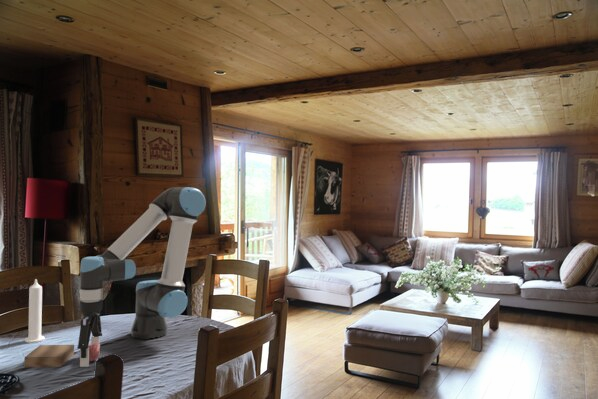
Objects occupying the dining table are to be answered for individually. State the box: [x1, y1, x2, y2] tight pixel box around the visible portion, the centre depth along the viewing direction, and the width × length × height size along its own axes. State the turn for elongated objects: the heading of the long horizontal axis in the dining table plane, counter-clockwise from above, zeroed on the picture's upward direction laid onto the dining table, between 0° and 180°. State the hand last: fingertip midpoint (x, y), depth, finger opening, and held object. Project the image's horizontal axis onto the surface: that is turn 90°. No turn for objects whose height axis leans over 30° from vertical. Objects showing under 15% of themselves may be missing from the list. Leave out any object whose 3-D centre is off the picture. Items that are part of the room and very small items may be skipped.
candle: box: [24, 278, 46, 344], centre depth 182 cm, size 7×7×25 cm
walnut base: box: [24, 344, 75, 368], centre depth 161 cm, size 12×12×4 cm
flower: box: [78, 343, 101, 362], centre depth 162 cm, size 8×8×6 cm
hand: (89, 360), depth 162 cm, fingers open, 11 cm apart
